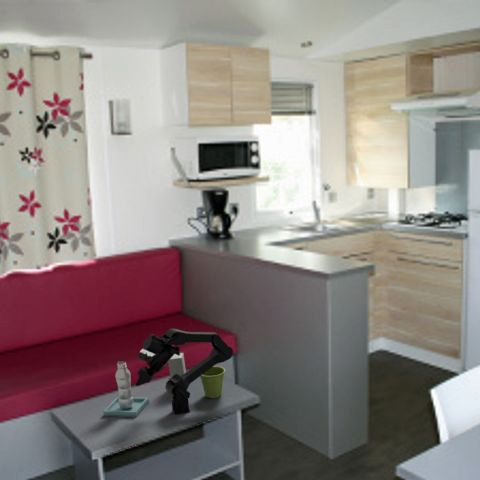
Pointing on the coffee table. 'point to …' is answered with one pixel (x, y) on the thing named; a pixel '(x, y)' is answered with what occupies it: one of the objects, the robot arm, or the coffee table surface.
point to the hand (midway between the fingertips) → (140, 381)
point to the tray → (134, 411)
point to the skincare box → (177, 365)
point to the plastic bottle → (124, 386)
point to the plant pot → (213, 381)
